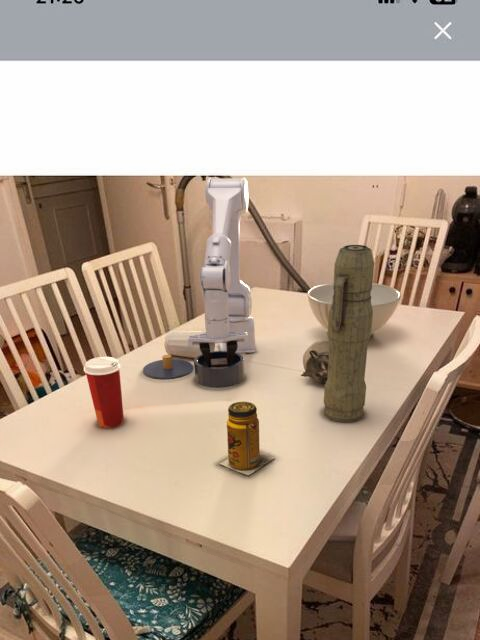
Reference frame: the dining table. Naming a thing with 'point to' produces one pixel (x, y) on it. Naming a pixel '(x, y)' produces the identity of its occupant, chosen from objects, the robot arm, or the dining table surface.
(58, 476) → the dining table surface
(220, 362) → the block
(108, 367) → the paper cup
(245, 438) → the condiment
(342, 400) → the thermos
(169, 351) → the cup
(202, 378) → the tin
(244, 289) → the robot arm
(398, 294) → the decorative bowl
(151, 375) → the lid
